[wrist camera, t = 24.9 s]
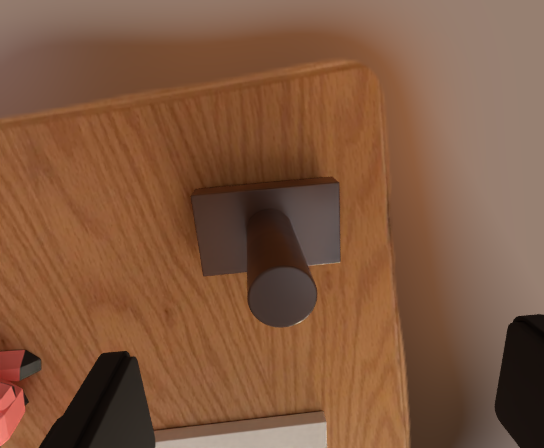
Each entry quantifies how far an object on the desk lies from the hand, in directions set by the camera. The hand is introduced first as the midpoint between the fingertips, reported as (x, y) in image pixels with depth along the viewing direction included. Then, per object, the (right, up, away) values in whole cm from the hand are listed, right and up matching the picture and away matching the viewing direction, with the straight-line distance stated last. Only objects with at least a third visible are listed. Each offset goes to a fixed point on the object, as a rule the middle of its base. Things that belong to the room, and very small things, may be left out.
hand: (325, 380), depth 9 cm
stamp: (-2, +4, +12) cm, 13 cm away
